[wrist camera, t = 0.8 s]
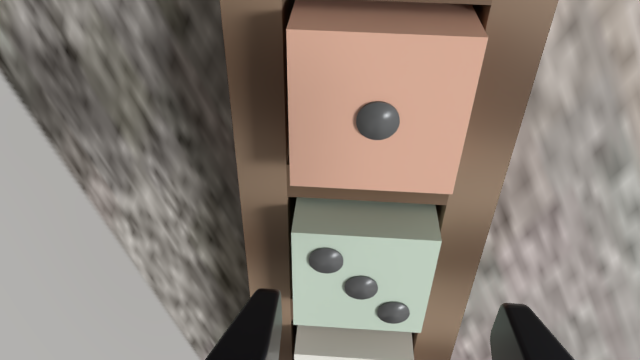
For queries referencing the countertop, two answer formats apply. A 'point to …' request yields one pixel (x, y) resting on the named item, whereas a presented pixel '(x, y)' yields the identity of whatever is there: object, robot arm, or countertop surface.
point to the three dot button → (363, 263)
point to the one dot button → (380, 93)
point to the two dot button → (351, 344)
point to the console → (452, 209)
